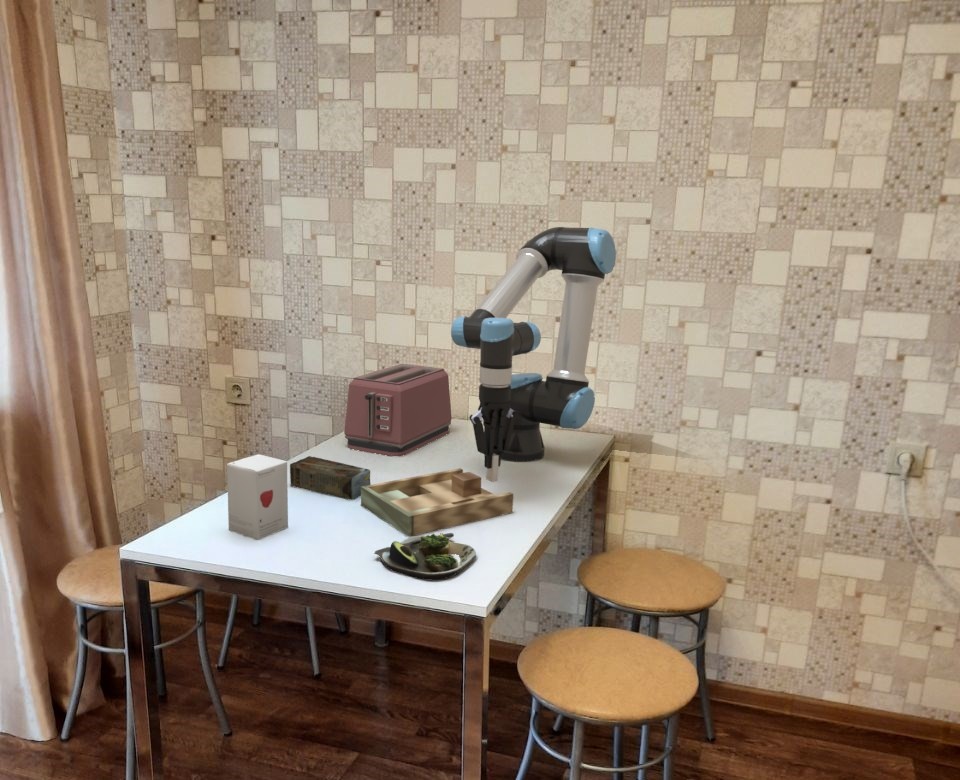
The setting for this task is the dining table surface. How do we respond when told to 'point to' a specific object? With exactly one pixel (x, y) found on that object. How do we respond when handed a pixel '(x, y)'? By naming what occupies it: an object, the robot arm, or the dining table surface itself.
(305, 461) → the beverage carton
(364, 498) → the box
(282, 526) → the supplement box
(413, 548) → the salad plate
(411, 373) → the toaster
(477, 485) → the block
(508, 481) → the dining table surface
